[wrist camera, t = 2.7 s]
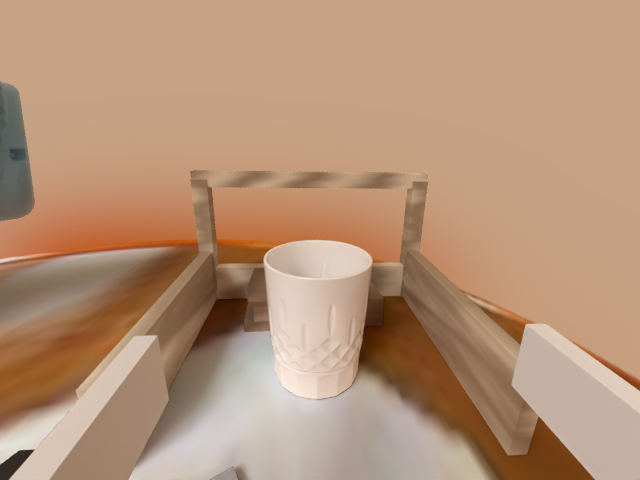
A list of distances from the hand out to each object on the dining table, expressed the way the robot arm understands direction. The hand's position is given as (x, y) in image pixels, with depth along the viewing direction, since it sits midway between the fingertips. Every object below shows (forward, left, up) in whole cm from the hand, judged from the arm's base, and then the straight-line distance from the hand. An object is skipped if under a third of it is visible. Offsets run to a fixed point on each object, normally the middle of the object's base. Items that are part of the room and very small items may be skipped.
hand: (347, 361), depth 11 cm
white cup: (-10, +6, -11) cm, 16 cm away
